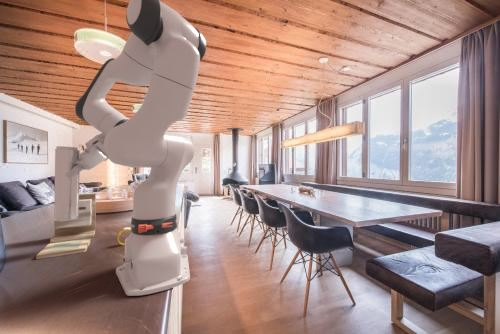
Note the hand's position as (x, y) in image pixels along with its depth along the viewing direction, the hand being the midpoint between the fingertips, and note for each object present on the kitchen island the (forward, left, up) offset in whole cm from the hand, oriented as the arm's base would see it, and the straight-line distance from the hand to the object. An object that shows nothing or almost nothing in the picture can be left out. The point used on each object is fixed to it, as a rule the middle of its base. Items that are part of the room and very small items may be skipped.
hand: (65, 176), depth 73 cm
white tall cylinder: (+1, 0, -15) cm, 15 cm away
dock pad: (0, 0, -25) cm, 25 cm away
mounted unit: (+15, 0, -25) cm, 29 cm away
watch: (-4, -18, -25) cm, 32 cm away
